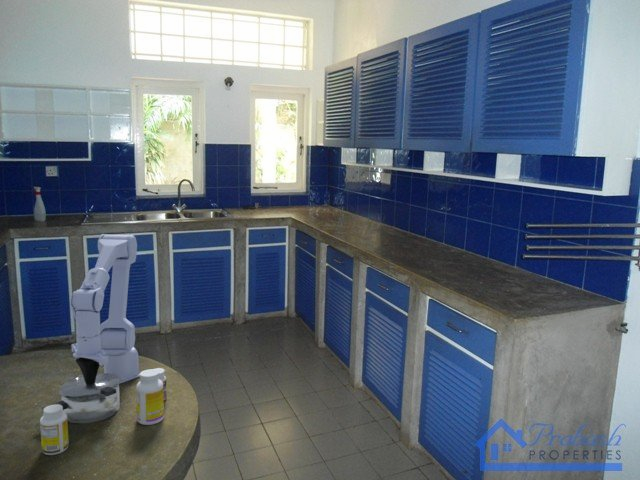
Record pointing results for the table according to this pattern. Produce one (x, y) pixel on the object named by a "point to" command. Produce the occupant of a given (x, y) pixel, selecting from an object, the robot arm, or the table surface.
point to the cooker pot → (90, 407)
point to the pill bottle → (163, 379)
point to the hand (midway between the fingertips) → (90, 383)
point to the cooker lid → (90, 386)
